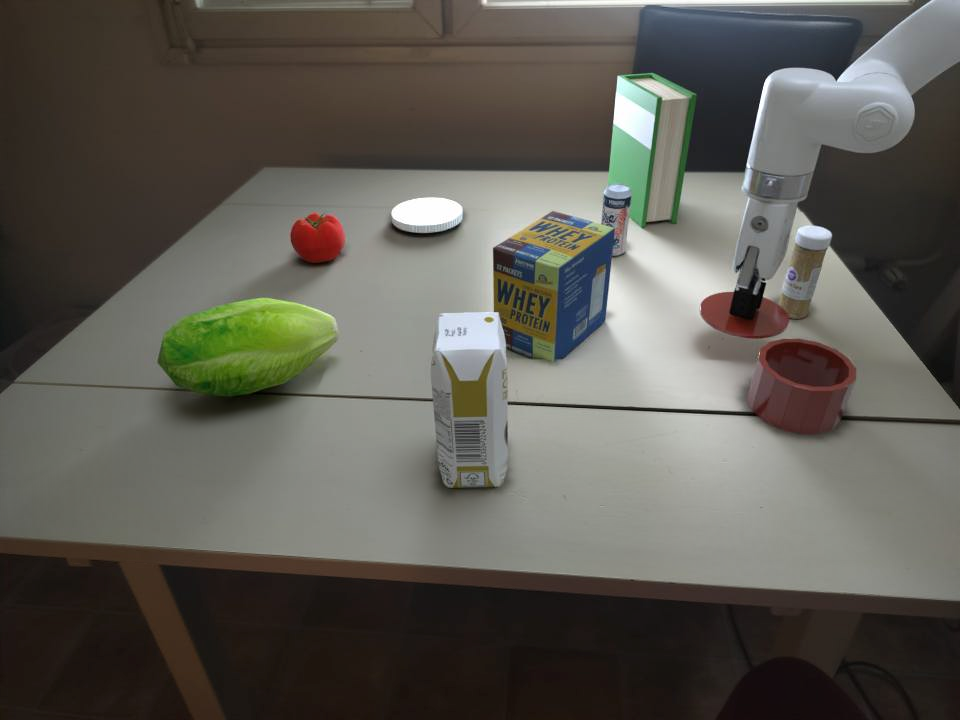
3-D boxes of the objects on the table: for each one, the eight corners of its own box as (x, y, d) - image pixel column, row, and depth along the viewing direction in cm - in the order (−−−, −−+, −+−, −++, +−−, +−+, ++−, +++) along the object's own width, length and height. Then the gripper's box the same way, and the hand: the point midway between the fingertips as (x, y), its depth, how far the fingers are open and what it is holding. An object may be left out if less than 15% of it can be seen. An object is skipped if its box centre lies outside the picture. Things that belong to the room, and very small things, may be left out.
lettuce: (352, 391, 89) (339, 316, 82) (170, 432, 83) (140, 355, 76) (336, 341, 99) (323, 270, 92) (172, 375, 93) (146, 302, 86)
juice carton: (439, 498, 73) (426, 355, 62) (442, 445, 80) (431, 308, 69) (508, 497, 72) (508, 354, 61) (505, 443, 79) (505, 306, 68)
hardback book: (676, 223, 130) (696, 94, 116) (641, 227, 129) (657, 97, 115) (639, 190, 144) (653, 72, 130) (606, 194, 143) (617, 75, 129)
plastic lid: (410, 243, 125) (409, 231, 124) (381, 218, 135) (380, 206, 134) (475, 227, 131) (474, 215, 129) (443, 204, 141) (442, 192, 139)
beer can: (593, 253, 120) (599, 189, 113) (605, 243, 123) (611, 180, 116) (618, 259, 118) (625, 194, 111) (629, 249, 121) (637, 185, 114)
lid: (772, 298, 96) (783, 257, 92) (799, 343, 87) (813, 299, 83) (690, 297, 97) (698, 256, 93) (709, 342, 87) (718, 298, 84)
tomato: (351, 246, 125) (346, 209, 120) (339, 268, 118) (332, 229, 113) (303, 245, 126) (296, 208, 121) (287, 267, 118) (279, 228, 114)
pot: (818, 386, 87) (835, 338, 83) (852, 441, 78) (872, 391, 74) (736, 385, 88) (748, 338, 83) (760, 440, 79) (774, 390, 75)
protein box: (492, 344, 97) (490, 247, 88) (549, 300, 107) (553, 209, 98) (553, 369, 92) (558, 268, 83) (607, 320, 101) (617, 225, 92)
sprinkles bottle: (769, 310, 103) (791, 229, 95) (788, 301, 105) (810, 221, 97) (795, 323, 100) (820, 240, 92) (814, 314, 101) (839, 232, 94)
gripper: (794, 209, 73) (757, 347, 84) (822, 166, 84) (786, 293, 95) (726, 196, 77) (698, 331, 87) (761, 156, 88) (733, 280, 98)
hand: (744, 310), depth 91 cm, fingers closed on lid, 2 cm apart
